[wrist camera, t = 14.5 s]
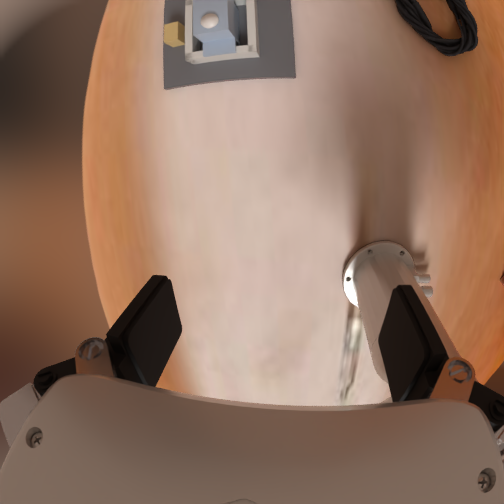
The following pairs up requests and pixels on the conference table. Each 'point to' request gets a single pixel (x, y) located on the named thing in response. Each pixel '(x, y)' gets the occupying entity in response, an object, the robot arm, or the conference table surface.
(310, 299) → the conference table surface
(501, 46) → the conference table surface
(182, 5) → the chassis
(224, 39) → the block
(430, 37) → the cable
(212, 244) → the conference table surface
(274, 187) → the conference table surface
